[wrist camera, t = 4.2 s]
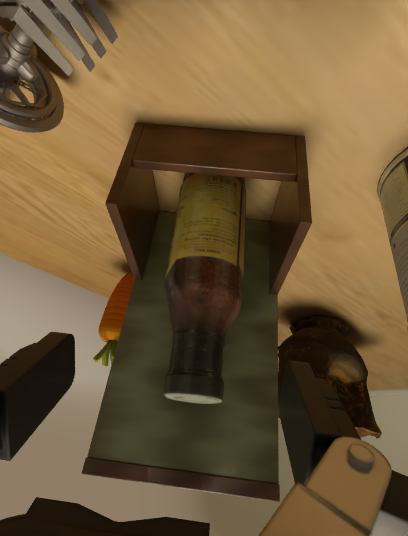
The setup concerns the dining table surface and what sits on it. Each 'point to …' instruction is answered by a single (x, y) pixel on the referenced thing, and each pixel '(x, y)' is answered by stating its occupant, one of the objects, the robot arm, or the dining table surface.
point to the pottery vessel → (332, 366)
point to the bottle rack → (160, 329)
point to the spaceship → (25, 53)
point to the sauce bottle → (204, 283)
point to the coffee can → (397, 216)
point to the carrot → (114, 318)
